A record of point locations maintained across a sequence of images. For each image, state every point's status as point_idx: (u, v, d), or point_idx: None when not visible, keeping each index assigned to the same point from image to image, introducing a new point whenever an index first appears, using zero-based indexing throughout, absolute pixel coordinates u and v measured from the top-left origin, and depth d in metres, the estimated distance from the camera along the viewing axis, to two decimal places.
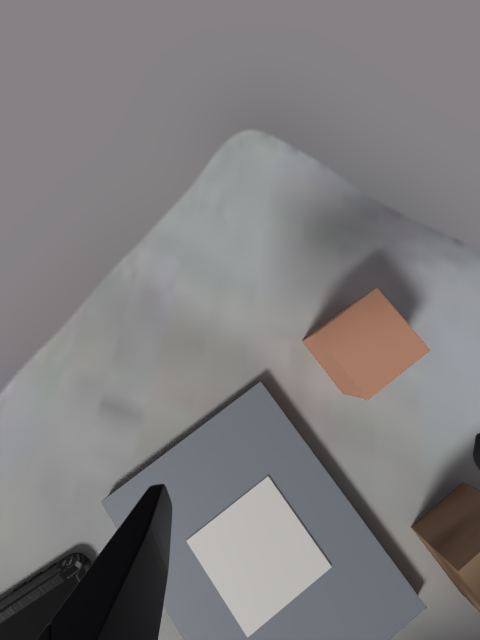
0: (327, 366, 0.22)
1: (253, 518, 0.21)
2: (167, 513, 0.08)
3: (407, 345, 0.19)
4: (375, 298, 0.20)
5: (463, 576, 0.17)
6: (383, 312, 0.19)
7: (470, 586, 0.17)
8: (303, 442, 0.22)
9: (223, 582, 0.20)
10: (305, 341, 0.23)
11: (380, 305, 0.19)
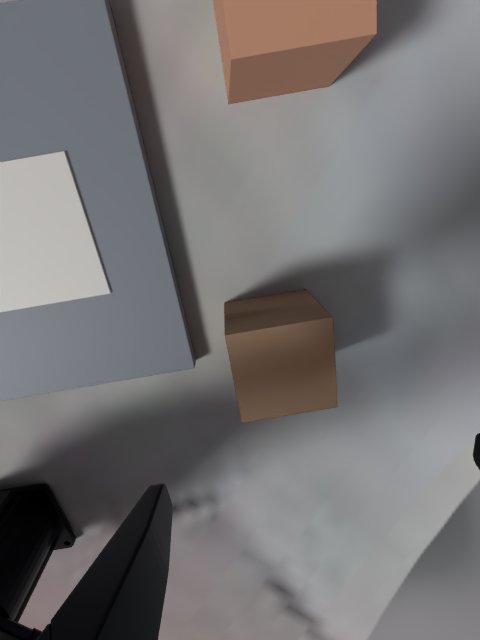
0: (218, 20, 0.13)
1: (26, 195, 0.15)
2: (167, 513, 0.08)
3: None
4: None
5: (227, 342, 0.14)
6: None
7: (229, 353, 0.14)
8: (133, 132, 0.14)
9: None
10: None
11: None
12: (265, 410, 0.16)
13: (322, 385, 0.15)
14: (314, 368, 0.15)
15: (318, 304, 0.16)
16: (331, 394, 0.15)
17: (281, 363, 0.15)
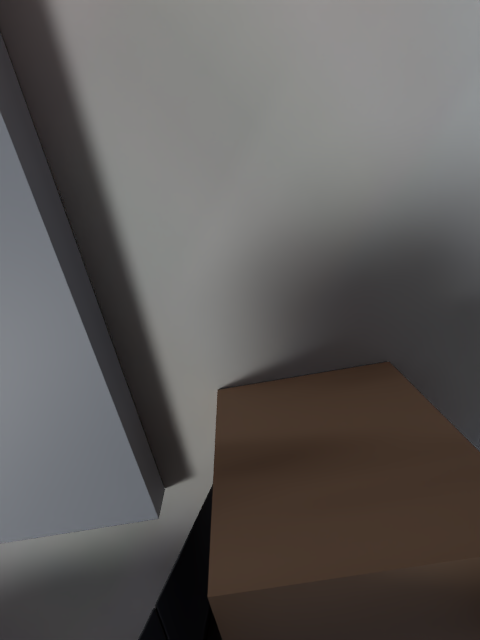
0: None
1: None
2: None
3: None
4: None
5: (218, 608, 0.04)
6: None
7: (223, 630, 0.05)
8: None
9: None
10: None
11: None
12: None
13: None
14: None
15: (462, 440, 0.06)
16: None
17: None
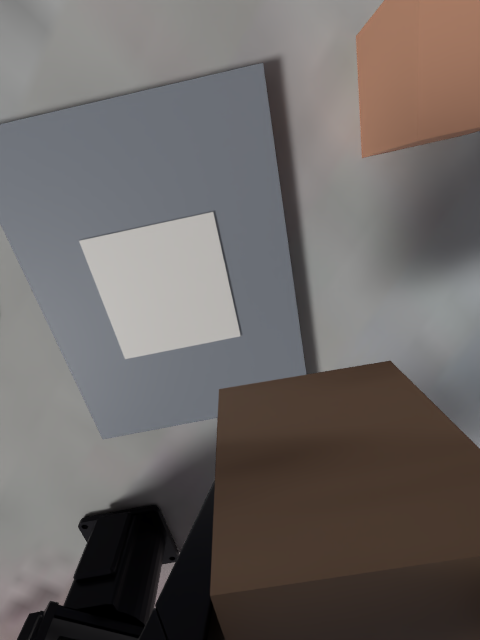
0: (374, 89, 0.13)
1: (174, 252, 0.16)
2: None
3: None
4: None
5: (220, 607, 0.04)
6: None
7: (226, 629, 0.05)
8: (278, 191, 0.15)
9: (114, 303, 0.17)
10: (365, 29, 0.13)
11: None
12: None
13: None
14: None
15: (463, 439, 0.06)
16: None
17: None
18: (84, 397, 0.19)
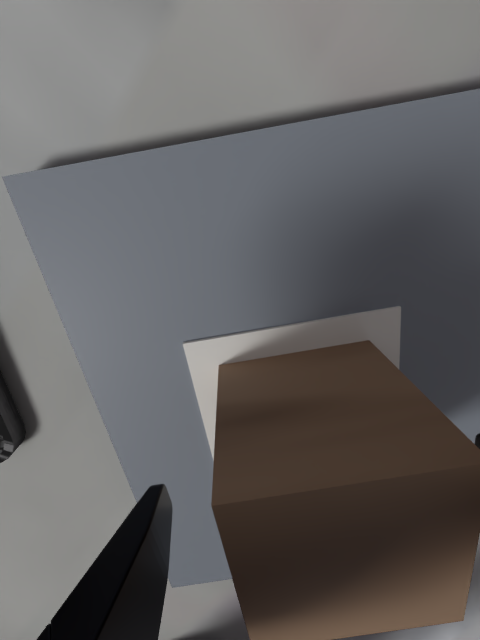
0: None
1: None
2: (167, 513, 0.08)
3: None
4: None
5: (219, 518, 0.06)
6: None
7: (223, 538, 0.06)
8: None
9: None
10: None
11: None
12: (305, 631, 0.07)
13: (437, 589, 0.07)
14: (424, 560, 0.06)
15: (421, 397, 0.07)
16: (454, 602, 0.07)
17: (348, 554, 0.06)
18: None
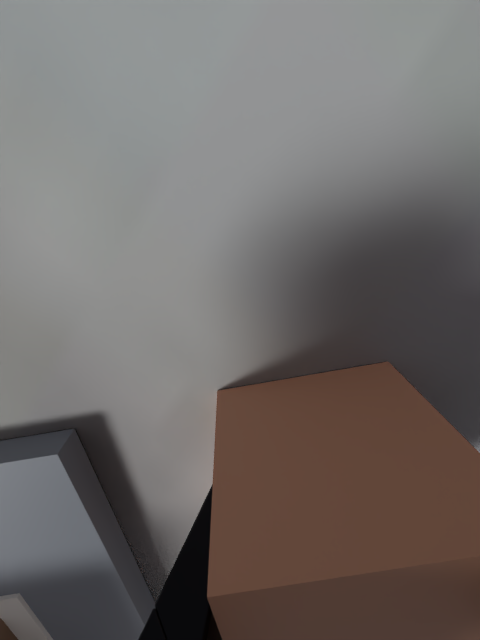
0: None
1: None
2: None
3: None
4: None
5: None
6: None
7: None
8: (113, 574, 0.10)
9: None
10: None
11: None
12: None
13: None
14: None
15: None
16: None
17: None
18: None
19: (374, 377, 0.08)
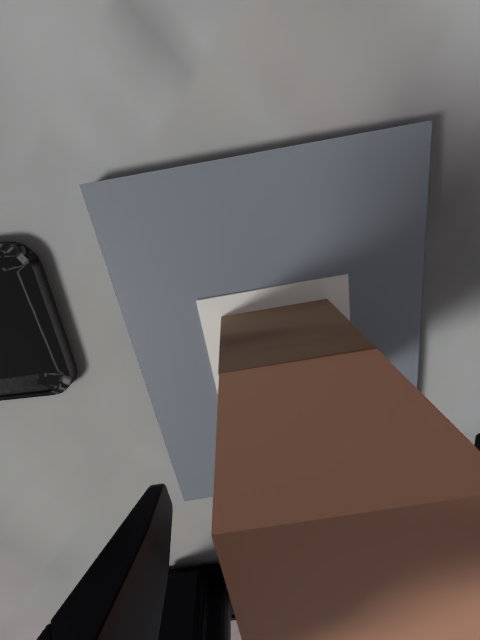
0: None
1: None
2: (167, 513, 0.08)
3: (440, 631, 0.06)
4: (479, 515, 0.05)
5: None
6: (461, 555, 0.05)
7: None
8: (422, 255, 0.14)
9: None
10: None
11: (473, 537, 0.05)
12: None
13: None
14: None
15: (349, 324, 0.11)
16: None
17: None
18: (172, 459, 0.17)
19: (363, 361, 0.09)
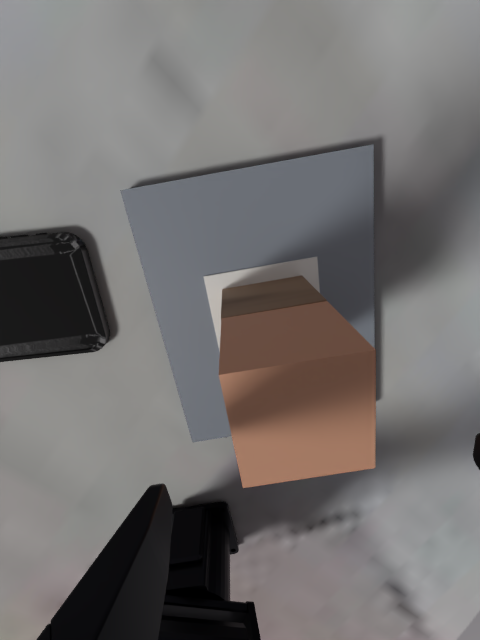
0: None
1: None
2: (167, 513, 0.08)
3: (349, 450, 0.11)
4: (358, 366, 0.10)
5: None
6: (353, 392, 0.10)
7: None
8: (372, 242, 0.18)
9: None
10: None
11: (357, 380, 0.10)
12: None
13: None
14: None
15: (313, 289, 0.16)
16: None
17: None
18: (183, 405, 0.22)
19: (316, 307, 0.14)
